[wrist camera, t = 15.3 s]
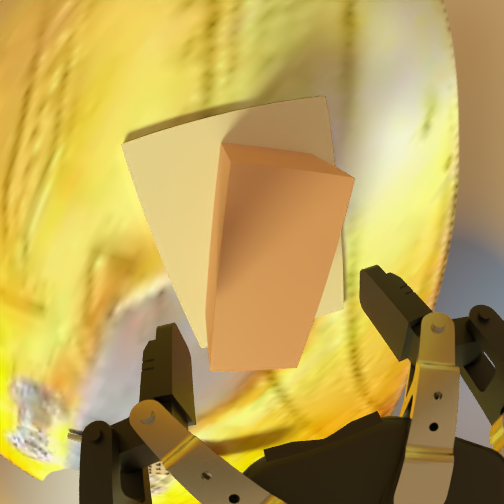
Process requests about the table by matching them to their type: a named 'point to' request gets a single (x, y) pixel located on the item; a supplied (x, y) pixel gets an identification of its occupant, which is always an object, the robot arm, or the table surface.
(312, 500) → the robot arm
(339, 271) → the beige flat plate
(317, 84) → the table surface
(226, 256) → the card box
